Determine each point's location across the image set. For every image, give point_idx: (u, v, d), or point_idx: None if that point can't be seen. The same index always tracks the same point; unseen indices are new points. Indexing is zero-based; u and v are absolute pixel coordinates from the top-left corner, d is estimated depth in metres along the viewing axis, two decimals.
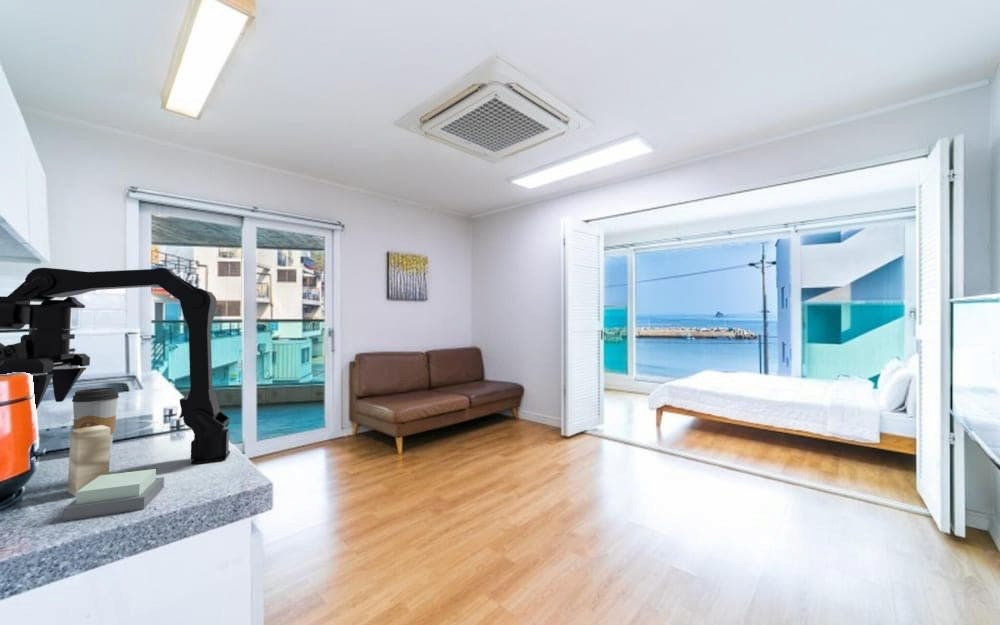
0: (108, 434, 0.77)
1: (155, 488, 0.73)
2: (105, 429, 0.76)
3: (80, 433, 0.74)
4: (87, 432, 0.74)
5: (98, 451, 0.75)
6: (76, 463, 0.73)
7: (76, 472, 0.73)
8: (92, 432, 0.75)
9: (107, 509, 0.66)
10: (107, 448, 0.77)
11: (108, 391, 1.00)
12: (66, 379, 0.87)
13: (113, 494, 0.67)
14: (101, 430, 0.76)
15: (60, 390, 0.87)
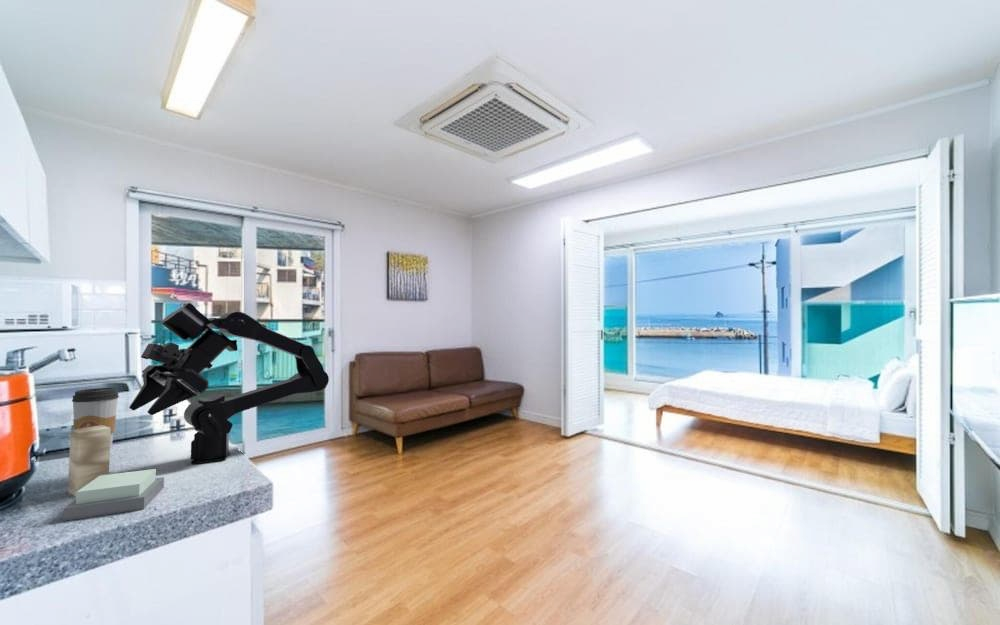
0: (108, 434, 0.77)
1: (155, 488, 0.73)
2: (105, 429, 0.76)
3: (80, 433, 0.74)
4: (87, 432, 0.74)
5: (98, 451, 0.76)
6: (76, 463, 0.73)
7: (76, 472, 0.73)
8: (92, 432, 0.75)
9: (107, 509, 0.66)
10: (107, 448, 0.77)
11: (108, 391, 1.00)
12: (154, 393, 0.89)
13: (113, 494, 0.67)
14: (101, 430, 0.76)
15: (142, 400, 0.87)
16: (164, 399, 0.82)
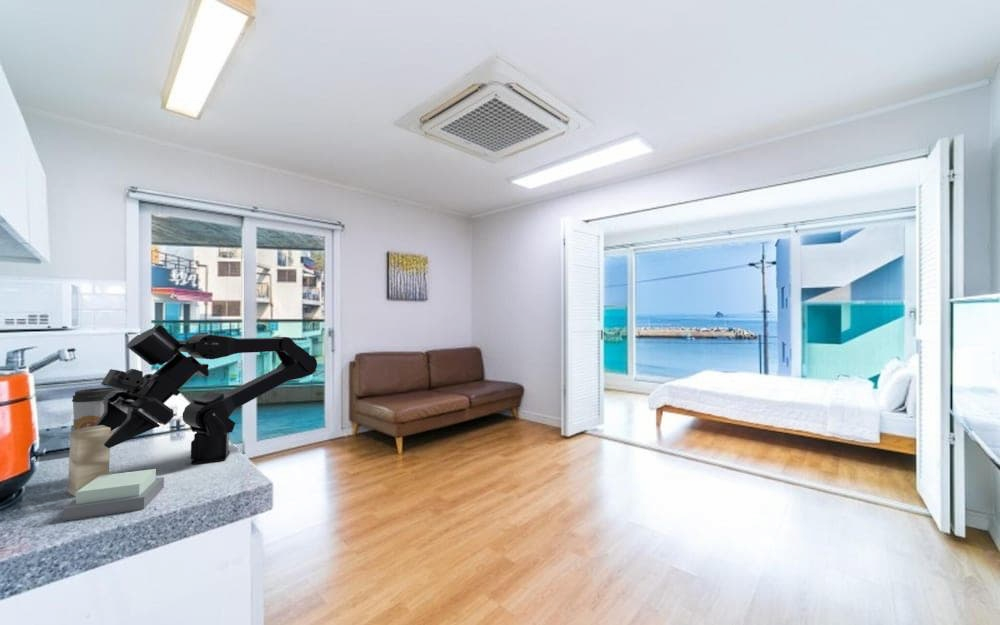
0: (108, 434, 0.77)
1: (155, 488, 0.73)
2: (105, 429, 0.76)
3: (80, 433, 0.74)
4: (87, 432, 0.74)
5: (98, 451, 0.76)
6: (76, 463, 0.73)
7: (76, 472, 0.73)
8: (92, 432, 0.75)
9: (107, 509, 0.66)
10: (107, 448, 0.77)
11: (108, 391, 1.00)
12: (115, 421, 0.83)
13: (113, 494, 0.67)
14: (101, 430, 0.76)
15: None
16: (123, 431, 0.76)
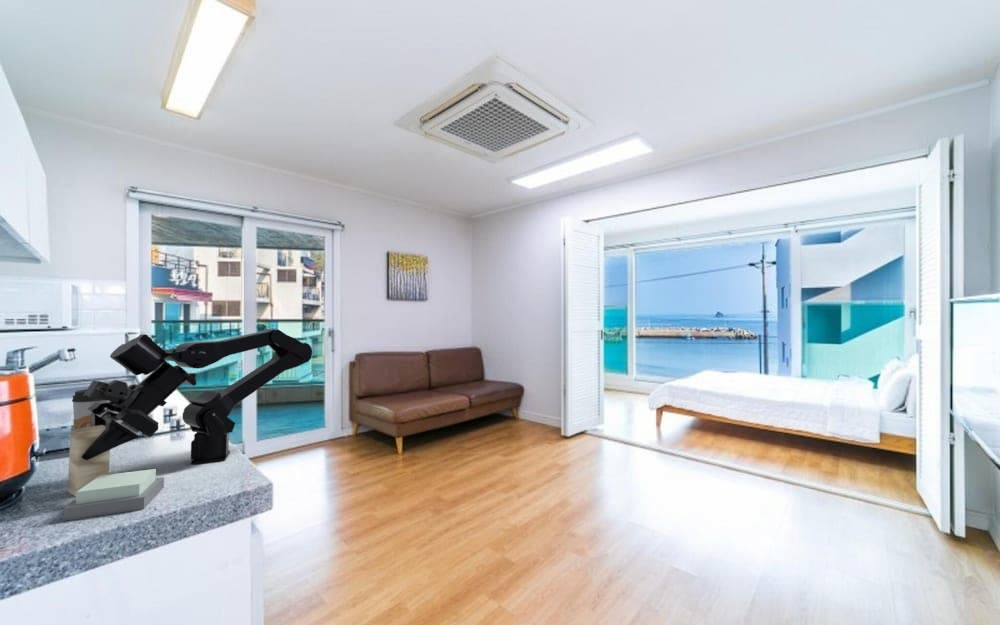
0: None
1: (155, 488, 0.73)
2: None
3: (80, 433, 0.74)
4: (87, 432, 0.74)
5: None
6: (76, 463, 0.73)
7: (76, 472, 0.73)
8: (92, 432, 0.75)
9: (107, 509, 0.66)
10: None
11: None
12: None
13: (113, 494, 0.67)
14: (101, 430, 0.76)
15: None
16: (101, 442, 0.75)
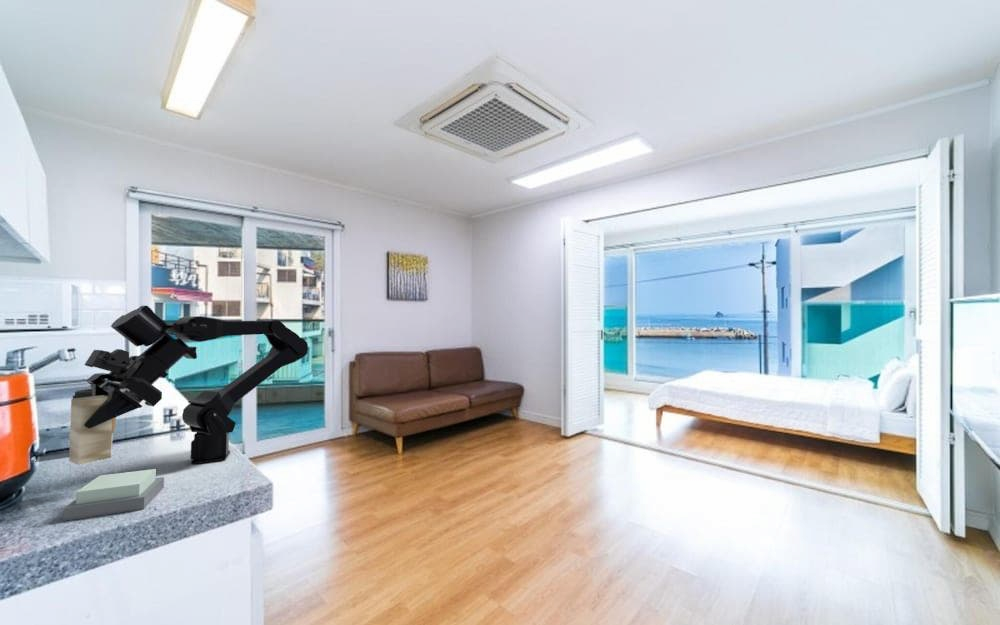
0: None
1: (155, 488, 0.73)
2: None
3: (82, 401, 0.73)
4: (89, 400, 0.74)
5: None
6: (78, 431, 0.73)
7: (78, 440, 0.73)
8: (94, 400, 0.75)
9: (107, 509, 0.66)
10: None
11: None
12: None
13: (113, 494, 0.67)
14: (103, 399, 0.76)
15: None
16: (104, 411, 0.75)
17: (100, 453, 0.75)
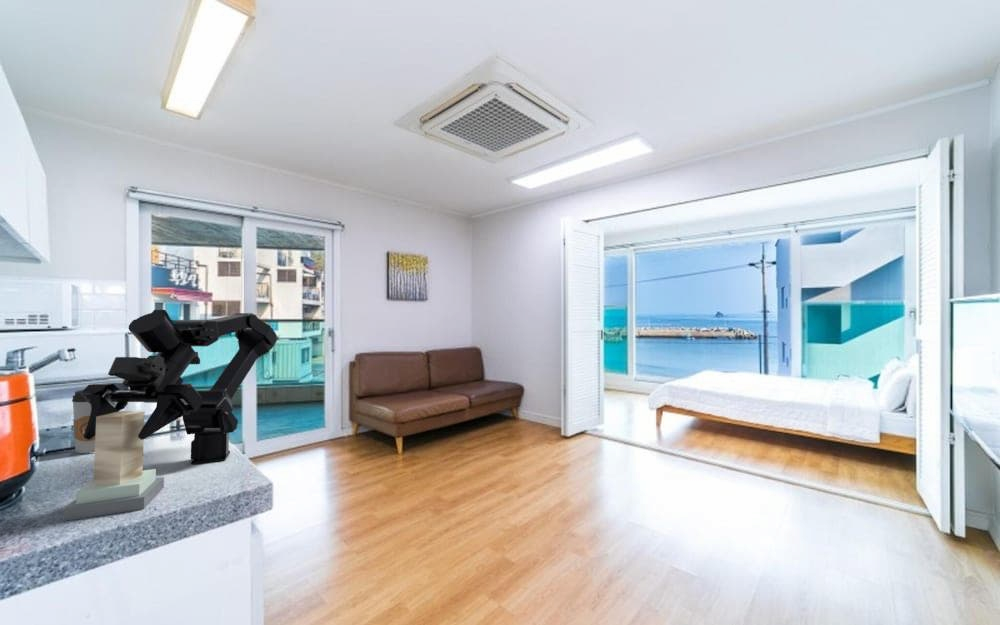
0: (143, 418, 0.73)
1: (155, 488, 0.73)
2: (140, 413, 0.72)
3: (123, 417, 0.69)
4: (128, 416, 0.70)
5: (135, 436, 0.71)
6: (118, 449, 0.69)
7: (119, 458, 0.69)
8: (132, 416, 0.71)
9: (107, 509, 0.66)
10: None
11: None
12: None
13: (113, 494, 0.67)
14: (138, 413, 0.72)
15: None
16: (157, 420, 0.72)
17: (135, 471, 0.71)
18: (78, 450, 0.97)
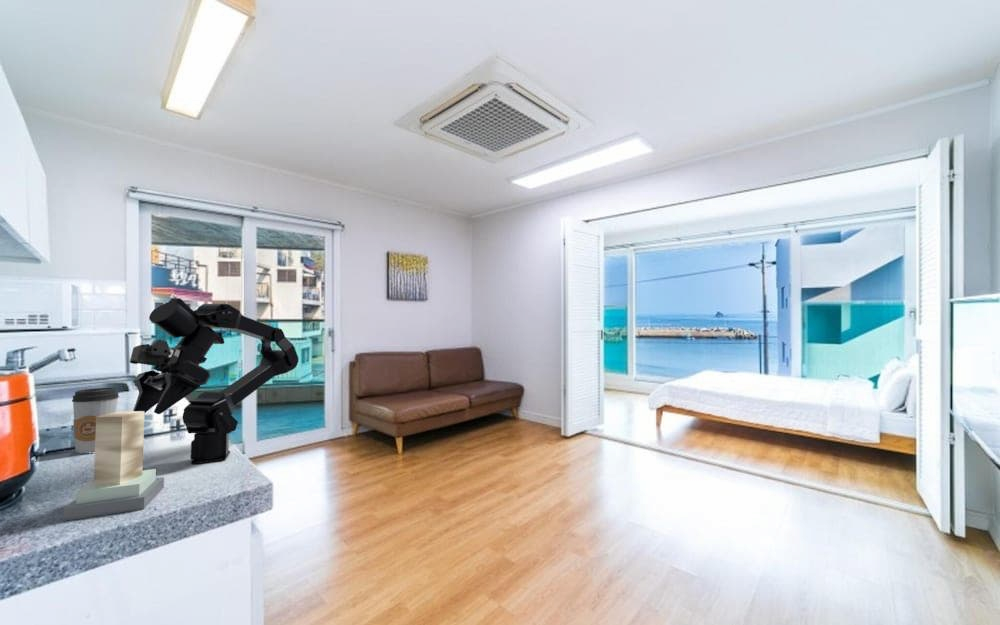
0: (143, 418, 0.73)
1: (155, 488, 0.73)
2: (140, 413, 0.72)
3: (123, 417, 0.69)
4: (128, 416, 0.70)
5: (135, 436, 0.71)
6: (118, 449, 0.69)
7: (119, 458, 0.69)
8: (132, 416, 0.71)
9: (107, 509, 0.66)
10: (142, 433, 0.73)
11: (108, 391, 1.00)
12: (153, 398, 0.85)
13: (113, 494, 0.67)
14: (138, 413, 0.72)
15: (142, 407, 0.83)
16: (168, 396, 0.79)
17: (135, 471, 0.71)
18: (78, 450, 0.97)
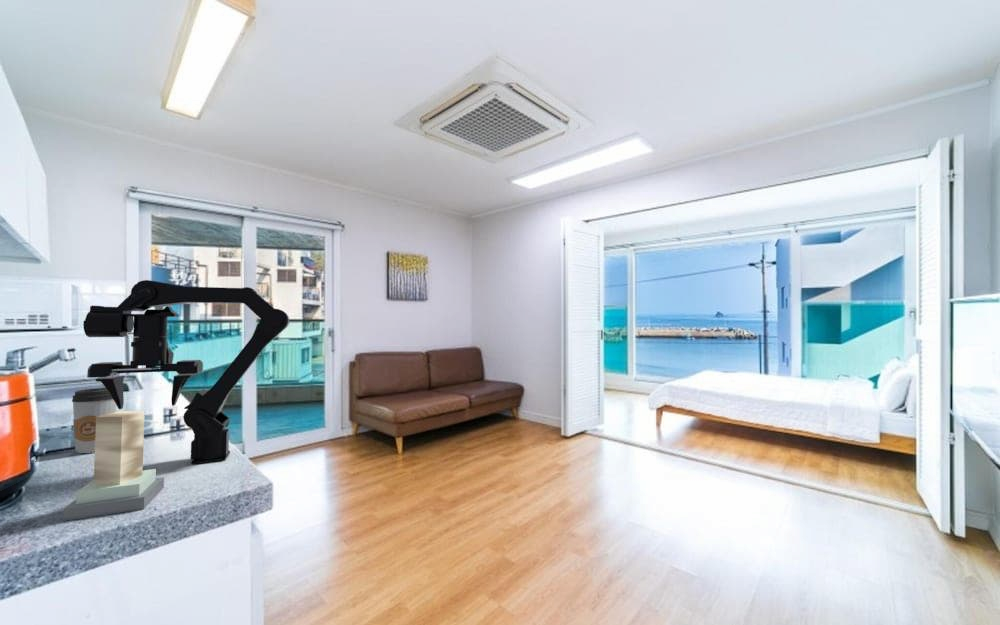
0: (143, 418, 0.73)
1: (155, 488, 0.73)
2: (140, 413, 0.72)
3: (123, 417, 0.69)
4: (128, 416, 0.70)
5: (135, 436, 0.71)
6: (118, 449, 0.69)
7: (119, 458, 0.69)
8: (132, 416, 0.71)
9: (107, 509, 0.66)
10: (142, 433, 0.73)
11: (108, 391, 1.00)
12: None
13: (113, 494, 0.67)
14: (138, 413, 0.72)
15: None
16: None
17: (135, 471, 0.71)
18: (78, 450, 0.97)
